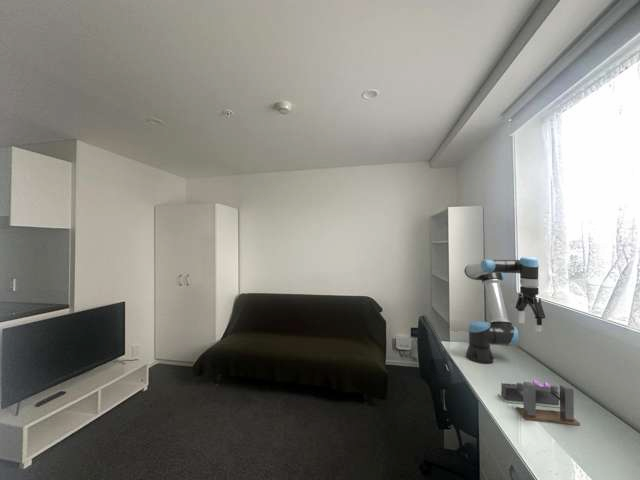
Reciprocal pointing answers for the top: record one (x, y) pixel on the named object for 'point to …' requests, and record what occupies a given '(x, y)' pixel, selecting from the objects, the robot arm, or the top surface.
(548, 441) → the top surface
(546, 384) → the bracket
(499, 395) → the mat
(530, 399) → the hook rack
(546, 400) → the rail
